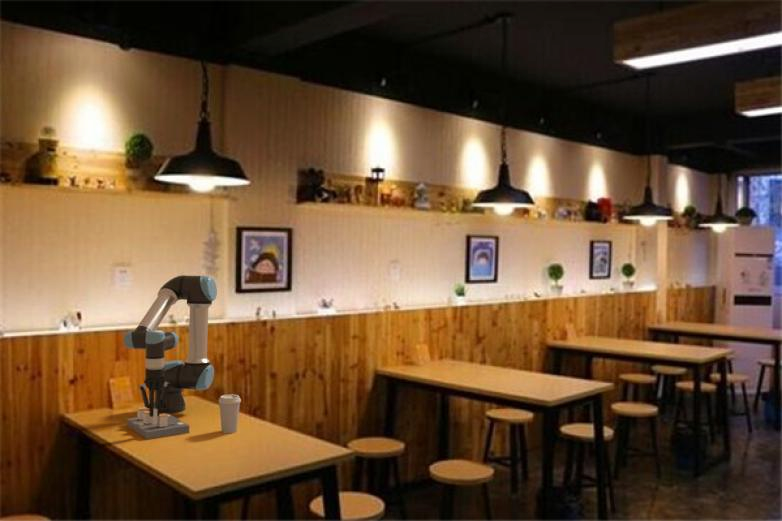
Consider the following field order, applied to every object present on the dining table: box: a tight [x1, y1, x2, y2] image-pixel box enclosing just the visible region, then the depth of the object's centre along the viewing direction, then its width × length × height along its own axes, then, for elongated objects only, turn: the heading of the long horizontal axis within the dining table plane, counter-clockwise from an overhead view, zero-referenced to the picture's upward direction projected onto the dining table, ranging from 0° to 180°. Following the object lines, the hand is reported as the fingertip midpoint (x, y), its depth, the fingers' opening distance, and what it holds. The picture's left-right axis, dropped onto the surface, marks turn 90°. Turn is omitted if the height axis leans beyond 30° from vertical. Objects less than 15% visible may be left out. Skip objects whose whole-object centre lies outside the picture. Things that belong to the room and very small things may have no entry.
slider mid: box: [143, 410, 152, 424], centre depth 294 cm, size 3×4×5 cm
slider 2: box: [157, 413, 168, 427], centre depth 290 cm, size 3×4×5 cm
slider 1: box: [136, 406, 148, 420], centre depth 301 cm, size 3×4×5 cm
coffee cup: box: [217, 393, 242, 434], centre depth 296 cm, size 10×10×15 cm
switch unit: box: [126, 413, 190, 440], centre depth 297 cm, size 18×26×3 cm
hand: (154, 423), depth 288 cm, fingers closed
